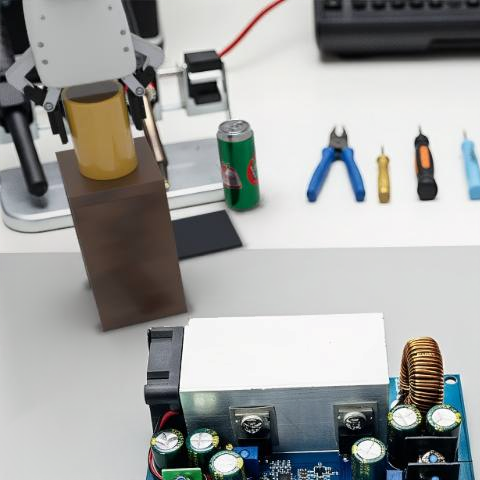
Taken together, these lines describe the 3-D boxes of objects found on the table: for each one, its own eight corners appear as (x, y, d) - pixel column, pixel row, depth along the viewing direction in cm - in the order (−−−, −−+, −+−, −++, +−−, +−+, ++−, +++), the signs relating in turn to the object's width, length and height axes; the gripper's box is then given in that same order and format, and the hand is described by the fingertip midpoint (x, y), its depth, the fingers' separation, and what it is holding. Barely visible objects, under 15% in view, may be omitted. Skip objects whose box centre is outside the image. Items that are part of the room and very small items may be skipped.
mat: (177, 260, 132) (176, 257, 132) (162, 225, 138) (161, 222, 138) (242, 246, 135) (242, 243, 134) (225, 212, 141) (225, 209, 140)
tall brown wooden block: (103, 331, 121) (68, 197, 108) (88, 283, 128) (54, 152, 115) (187, 311, 124) (164, 179, 111) (169, 265, 131) (144, 135, 118)
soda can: (218, 202, 143) (207, 125, 134) (246, 189, 145) (238, 113, 137) (239, 216, 140) (229, 139, 132) (267, 203, 142) (260, 127, 134)
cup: (85, 185, 110) (66, 110, 104) (73, 157, 114) (55, 83, 108) (143, 173, 112) (129, 98, 106) (130, 146, 116) (116, 72, 110)
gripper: (145, -54, 103) (171, 103, 115) (-30, -32, 98) (16, 130, 110) (161, -29, 98) (186, 133, 110) (-23, -4, 93) (24, 162, 105)
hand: (101, 131), depth 110 cm, fingers open, 7 cm apart
